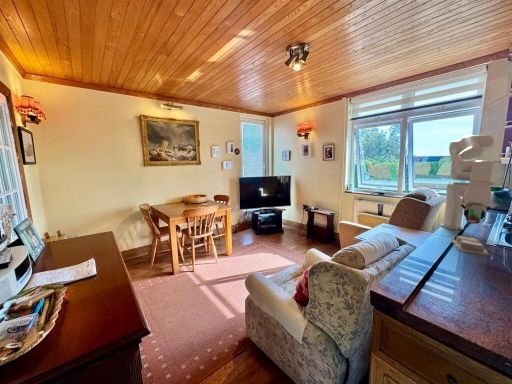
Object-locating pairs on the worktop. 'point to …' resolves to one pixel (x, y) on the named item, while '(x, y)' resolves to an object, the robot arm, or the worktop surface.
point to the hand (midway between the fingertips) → (473, 217)
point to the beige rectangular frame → (469, 245)
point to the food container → (474, 214)
